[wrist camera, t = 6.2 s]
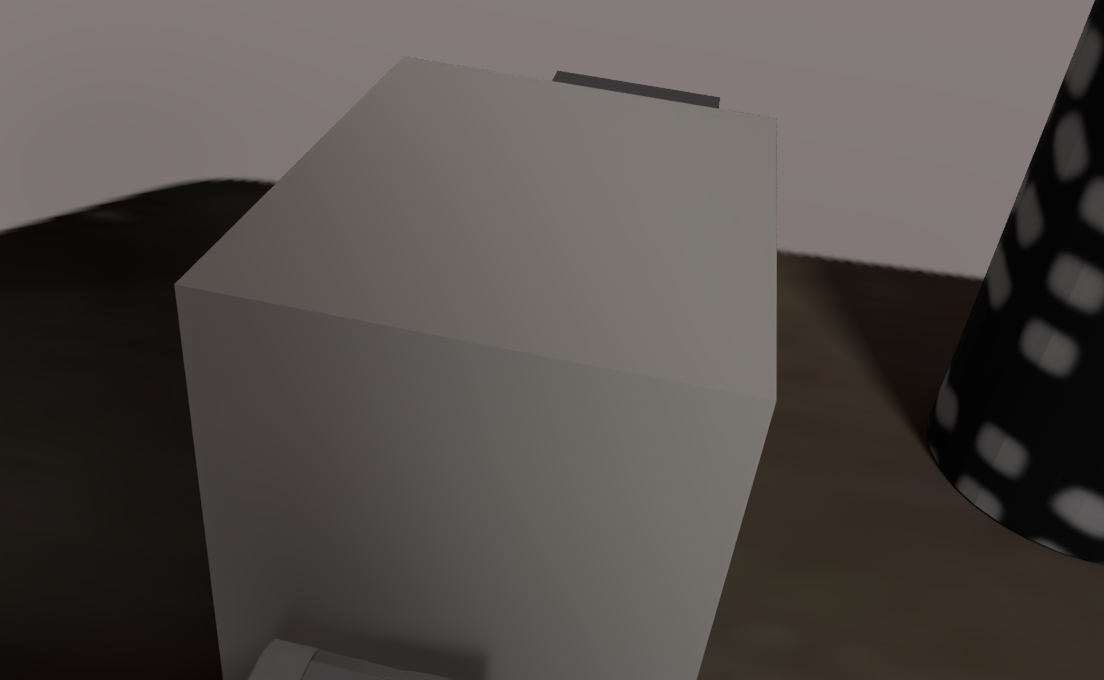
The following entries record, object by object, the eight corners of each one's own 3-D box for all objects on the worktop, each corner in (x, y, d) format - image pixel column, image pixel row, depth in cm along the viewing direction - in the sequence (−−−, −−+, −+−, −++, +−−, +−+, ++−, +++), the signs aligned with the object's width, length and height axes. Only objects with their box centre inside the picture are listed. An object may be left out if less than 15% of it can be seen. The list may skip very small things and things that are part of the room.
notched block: (608, 985, 17) (776, 401, 10) (249, 894, 18) (174, 284, 11) (656, 623, 24) (776, 118, 17) (393, 566, 24) (404, 56, 17)
